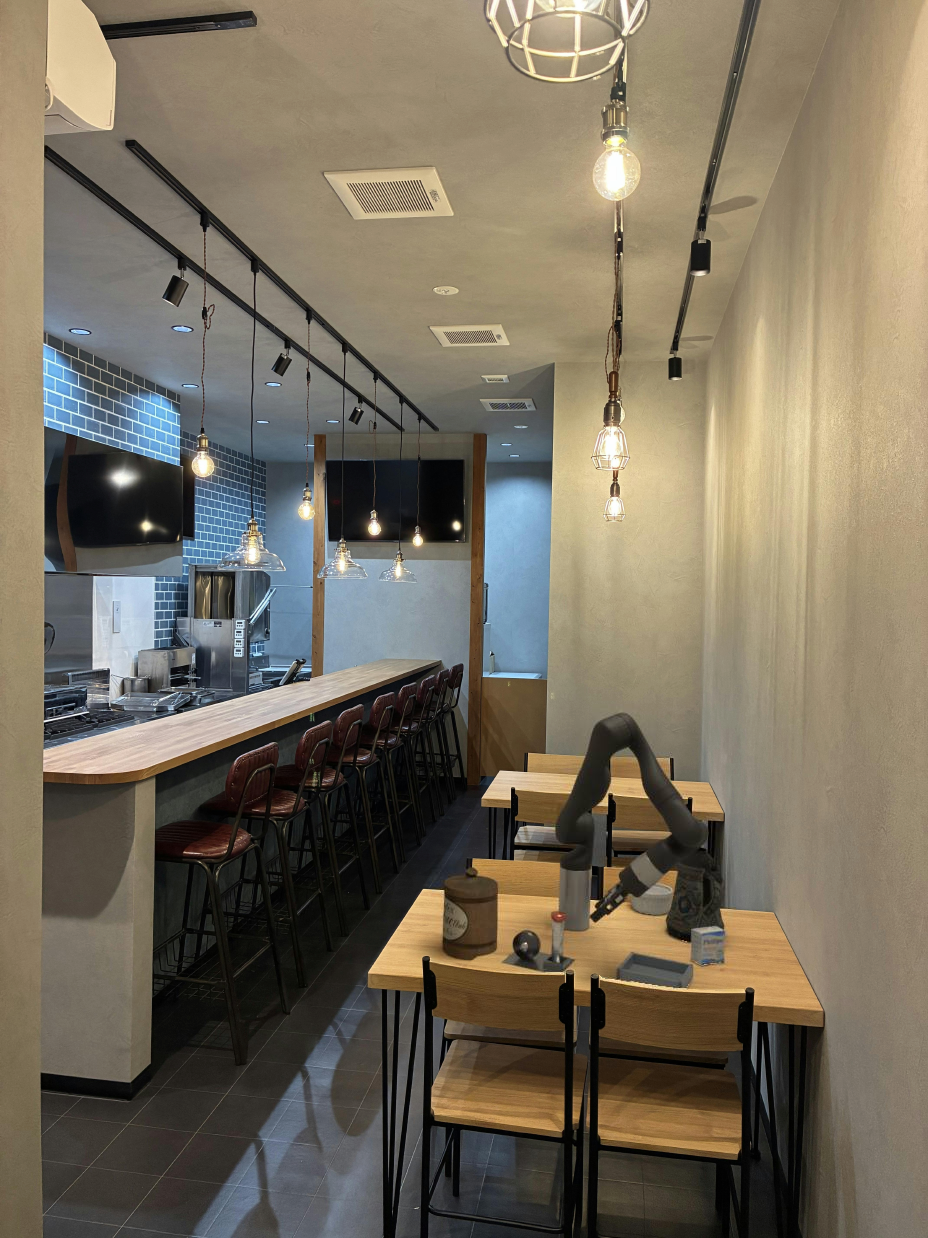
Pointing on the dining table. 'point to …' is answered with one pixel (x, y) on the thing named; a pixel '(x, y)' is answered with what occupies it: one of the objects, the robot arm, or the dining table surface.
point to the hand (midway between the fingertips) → (594, 914)
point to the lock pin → (557, 936)
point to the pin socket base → (533, 954)
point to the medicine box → (707, 945)
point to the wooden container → (470, 915)
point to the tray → (655, 971)
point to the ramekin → (654, 900)
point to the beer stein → (696, 896)
